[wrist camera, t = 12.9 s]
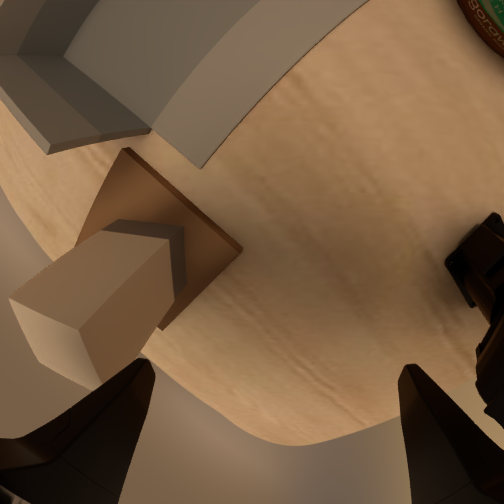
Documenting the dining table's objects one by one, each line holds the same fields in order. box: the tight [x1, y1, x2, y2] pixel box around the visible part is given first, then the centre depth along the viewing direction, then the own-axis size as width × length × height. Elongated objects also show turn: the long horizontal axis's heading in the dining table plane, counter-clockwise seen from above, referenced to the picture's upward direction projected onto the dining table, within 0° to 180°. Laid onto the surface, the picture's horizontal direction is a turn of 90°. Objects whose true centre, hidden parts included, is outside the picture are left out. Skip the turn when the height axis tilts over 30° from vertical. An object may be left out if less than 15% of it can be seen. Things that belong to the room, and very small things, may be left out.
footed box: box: [8, 219, 187, 391], centre depth 17 cm, size 6×5×12 cm
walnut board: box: [75, 147, 243, 331], centre depth 23 cm, size 12×12×1 cm
